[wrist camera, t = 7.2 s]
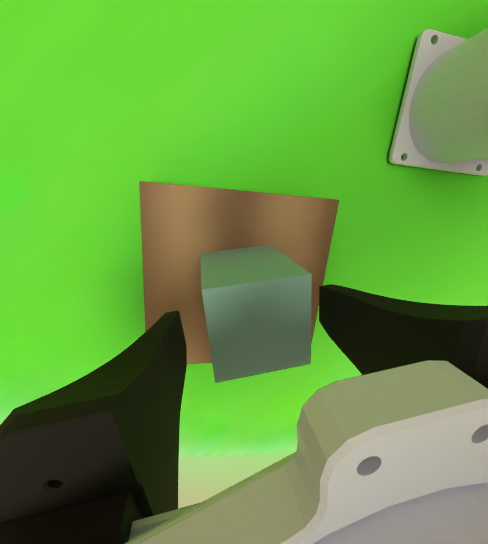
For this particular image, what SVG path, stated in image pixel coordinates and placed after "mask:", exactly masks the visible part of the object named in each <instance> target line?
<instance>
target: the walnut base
mask: <svg viewBox="0 0 488 544" xmlns="http://www.w3.org/2000/svg"><path fill="white" fill-rule="evenodd" d="M139 182H140V206H141V231H142V255H143V279H144V304H145V328H146V331H147V330H148V329H149V328H150V327H151V326H153V325H154V324H155V323H156V322H157V321H158V320H159V319H160V318H161V317H162V316H163V315H164V314H165V313H166V312H172V311H178V310H179V313H180V317H181V322H182V327H183V331H184V336H185V341H186V345H187V364H198V363H212V357H211V350H210V343H209V337H208V330H207V323H206V317H205V310H204V304H203V297H202V290H201V257H200V253H207V252H216V251H224V250H232V249H240V248H249V247H257V246H265V245H272V246H273V247H274V248H276V249H277V250H279V251H280V252H281V253H283V254H284V255H286V256H287V257H288V258H290V259H291V260H293V261H294V262H295V263H297V264H298V265H300V266H301V267H302V268H304V269H305V270H307V271H308V272H309V273H311V274H312V291H311V342H312V337H313V332H314V327H315V321H316V316H317V311H318V306H319V286H323V280H324V275H325V270H326V265H327V260H328V255H329V250H330V244H331V239H332V234H333V229H334V224H335V219H336V214H337V208H338V203H339V200H333V199H323V198H312V197H302V196H291V195H281V194H270V193H260V192H249V191H238V190H228V189H217V188H207V187H196V186H186V185H175V184H165V183H154V182H144V181H139Z"/></svg>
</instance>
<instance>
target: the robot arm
mask: <svg viewBox="0 0 488 544" xmlns="http://www.w3.org/2000/svg"><path fill="white" fill-rule="evenodd" d="M431 39H432V41H433V43H431ZM402 155H403V159H401V156H402ZM389 161H390V163H392V164H397V165H404V166H411V167H419V168H426V169H434V170H441V171H449V172H456V173H464V174H471V175H479V176H487V175H488V28H486V29H484V30H483V31H481V32H479V33H477V34H476V35H474V36H472V37H470V38H469V39H465V38H462V37H458V36H454V35H451V34H447V33H443V32H439V31H436V30H432V29H426V30H425V31H423V32H422V33H421V34H420V35H419V36H418V39H417V42H416V46H415V51H414V55H413V59H412V63H411V67H410V71H409V75H408V80H407V84H406V88H405V92H404V96H403V100H402V104H401V109H400V113H399V117H398V121H397V125H396V129H395V133H394V138H393V142H392V146H391V150H390V154H389ZM319 321H320V323H321V324H322V326H323V328H324V329H325V331H326V332H327V334H328V335H329V337H330V338H331V339H332V340H333V341H334V342H335V344H336V345H337V346H338V347H339V348H340V349H341V351H342V352H343V353H344V354H345V355H346V356H347V357H348V358H349V360H350V361H351V362H352V363H353V364H354V365H355V366H356V368H357V369H358V370H359V371H360V372H361V374H362V375H361V376H357V377H352V378H348V379H344V380H339V381H336V382H334V383H331V384H329V385H327V386H325V387H323V388H320V389H318V390H317V391H316V392H315V393H314V394H313V395H312V396H311V397H310V399H309V400H308V401H307V402H306V403H305V404H304V405H303V407H302V409H301V413H300V416H299V420H298V423H297V439H298V444H297V451H296V452H295V453H293V454H291V455H289V456H287V457H286V458H283V459H282V460H280V461H278V462H276V463H274V464H272V465H270V466H269V467H267V468H265V469H263V470H261V471H259V472H257V473H255V474H254V475H252V476H250V477H248V478H246V479H244V480H242V481H241V482H239V483H237V484H235V485H233V486H231V487H229V488H227V489H226V490H224V491H222V492H220V493H218V494H216V495H214V496H212V497H211V498H209V499H207V500H205V501H203V502H201V503H198V504H194V505H190V506H187V507H183V508H179V509H178V455H179V422H180V409H181V401H182V394H183V387H184V380H185V373H186V365H187V345H186V341H185V336H184V331H183V327H182V322H181V317H180V313H179V310H178V311H172V312H166V313H165V314H164V315H163V316H162V317H161V318H160V319H159V320H158V321H157V322H156V323H155V324H154V325H153V326H151V327H150V328H149V329H148V330H147V331H146V332H145V333H144V334H143V335H142V336H141V337H140V338H139V339H137V340H136V341H135V342H134V343H133V344H132V345H131V346H129V347H128V348H127V349H125V350H124V351H123V352H122V353H120V354H119V355H117V356H116V357H115V358H113V359H112V360H110V361H109V362H107V363H105V364H104V365H102V366H101V367H99V368H97V369H96V370H94V371H92V372H91V373H89V374H87V375H86V376H84V377H82V378H80V379H78V380H76V381H75V382H73V383H71V384H69V385H67V386H65V387H63V388H61V389H59V390H56V391H54V392H52V393H50V394H48V395H45V396H43V397H41V398H39V399H36V400H34V401H32V402H29V403H27V404H25V405H22V406H20V407H18V408H15V409H14V410H13V411H12V412H11V413H10V414H9V416H8V417H7V418H6V419H5V420H4V422H3V423H2V424H1V425H0V544H488V306H457V305H440V304H428V303H419V302H412V301H405V300H399V299H393V298H388V297H384V296H379V295H375V294H370V293H366V292H362V291H359V290H355V289H351V288H347V287H343V286H338V285H331V284H330V285H324V286H319Z"/></svg>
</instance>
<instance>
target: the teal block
mask: <svg viewBox="0 0 488 544" xmlns="http://www.w3.org/2000/svg"><path fill="white" fill-rule="evenodd" d="M200 257H201V290H202V297H203V304H204V310H205V317H206V323H207V330H208V337H209V343H210V350H211V357H212V363H213V370H214V376H215V383H217V382H222V381H227V380H232V379H237V378H242V377H247V376H252V375H257V374H262V373H267V372H272V371H277V370H282V369H287V368H292V367H297V366H302V365H307V364H311V291H312V274H311V273H309V272H308V271H307V270H305V269H304V268H302V267H301V266H300V265H298V264H297V263H295V262H294V261H293V260H291V259H290V258H288V257H287V256H286V255H284V254H283V253H281V252H280V251H279V250H277V249H276V248H274V247H273V246H272V245H265V246H257V247H249V248H240V249H232V250H224V251H216V252H207V253H200Z"/></svg>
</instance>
